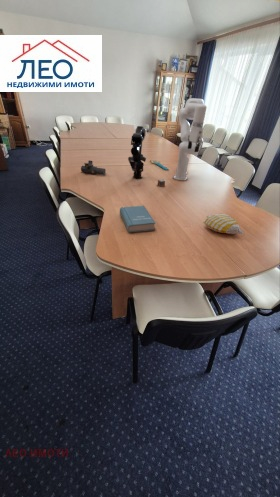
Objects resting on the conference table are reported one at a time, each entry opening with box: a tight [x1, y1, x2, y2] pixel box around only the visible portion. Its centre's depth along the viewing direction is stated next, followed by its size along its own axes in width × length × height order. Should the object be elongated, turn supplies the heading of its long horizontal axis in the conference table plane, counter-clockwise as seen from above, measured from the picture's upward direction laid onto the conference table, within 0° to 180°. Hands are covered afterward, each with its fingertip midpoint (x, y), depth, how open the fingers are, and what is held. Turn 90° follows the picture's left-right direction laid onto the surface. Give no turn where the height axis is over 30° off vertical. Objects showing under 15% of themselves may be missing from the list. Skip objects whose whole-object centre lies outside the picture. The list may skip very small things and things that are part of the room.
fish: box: [203, 213, 245, 235], centre depth 133 cm, size 25×8×20 cm
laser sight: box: [80, 160, 107, 176], centre depth 201 cm, size 10×22×10 cm, turn 78°
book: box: [119, 205, 156, 233], centre depth 136 cm, size 23×16×5 cm
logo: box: [150, 160, 169, 171], centre depth 239 cm, size 34×10×1 cm, turn 16°
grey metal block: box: [157, 178, 166, 188], centre depth 189 cm, size 5×4×5 cm
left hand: (135, 172), depth 182 cm, fingers open, 9 cm apart
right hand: (192, 150), depth 169 cm, fingers open, 9 cm apart
